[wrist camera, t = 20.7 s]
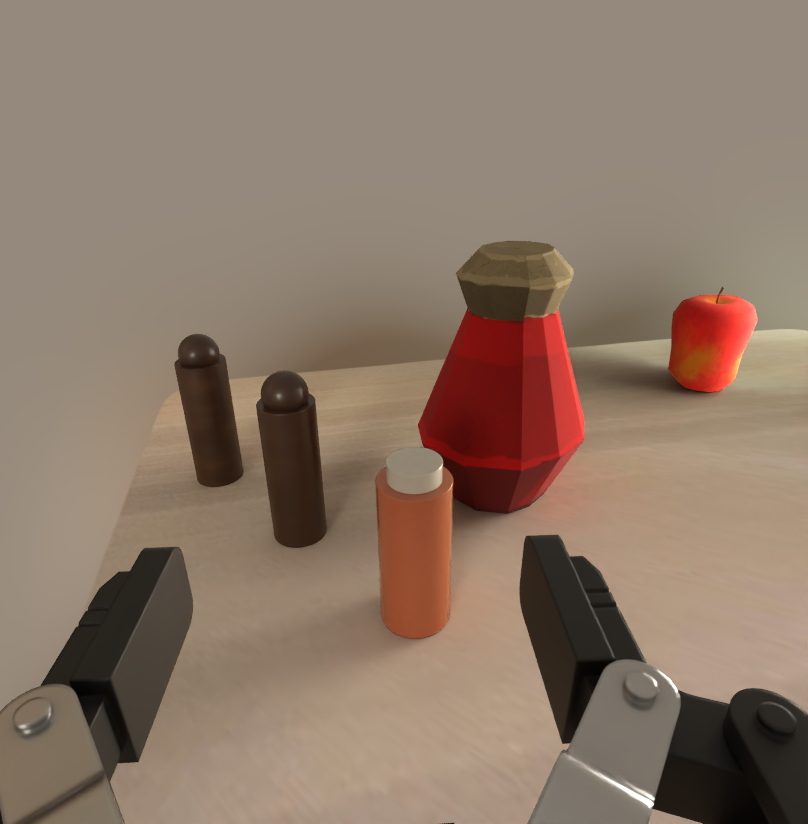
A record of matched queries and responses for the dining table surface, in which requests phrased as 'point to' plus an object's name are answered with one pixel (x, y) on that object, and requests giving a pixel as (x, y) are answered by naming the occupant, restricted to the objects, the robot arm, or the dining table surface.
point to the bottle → (507, 381)
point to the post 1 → (208, 411)
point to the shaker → (414, 541)
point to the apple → (709, 340)
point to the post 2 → (292, 459)
